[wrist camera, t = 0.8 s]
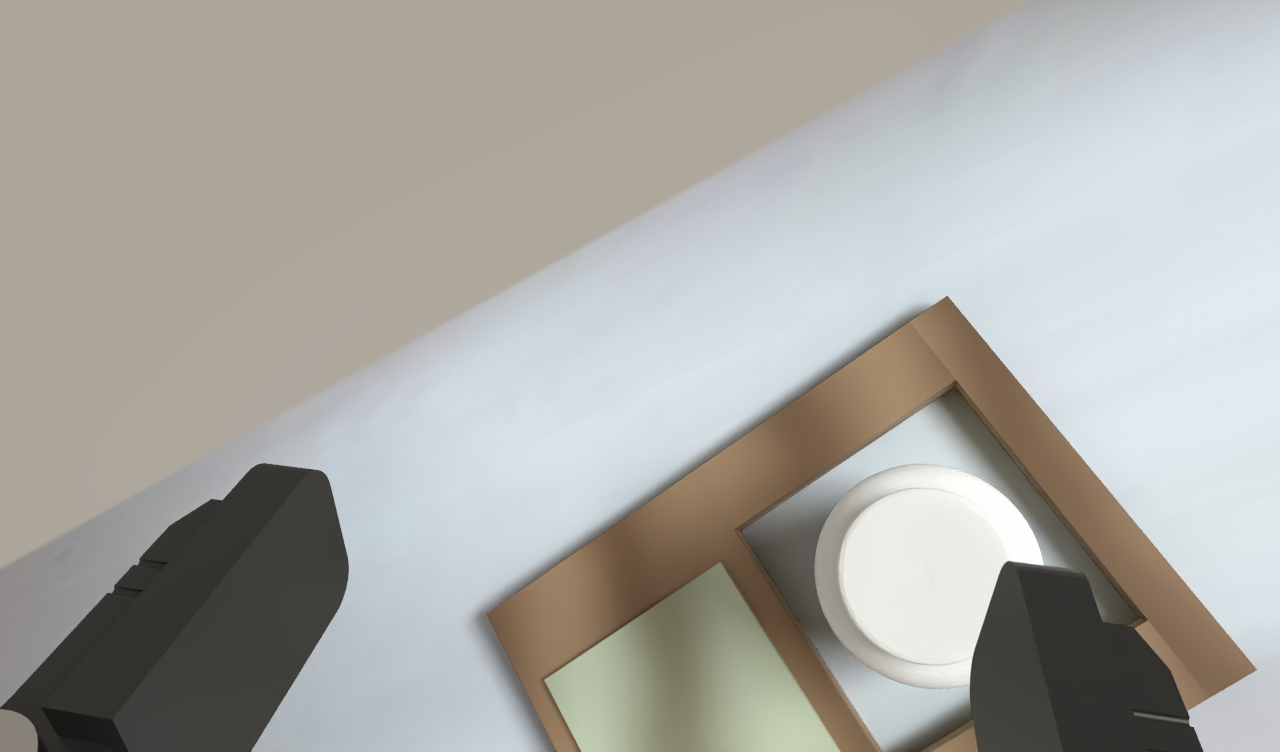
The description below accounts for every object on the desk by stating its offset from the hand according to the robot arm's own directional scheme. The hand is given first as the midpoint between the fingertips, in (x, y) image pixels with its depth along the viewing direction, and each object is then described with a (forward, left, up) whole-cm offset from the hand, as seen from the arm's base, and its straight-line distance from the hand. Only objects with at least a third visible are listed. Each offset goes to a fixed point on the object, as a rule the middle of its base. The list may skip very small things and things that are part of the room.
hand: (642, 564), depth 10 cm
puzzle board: (+1, +2, -21) cm, 21 cm away
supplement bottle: (-3, +2, -21) cm, 22 cm away
